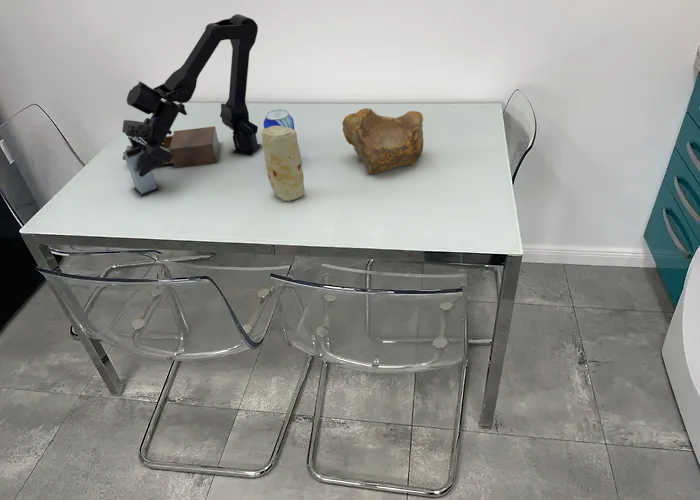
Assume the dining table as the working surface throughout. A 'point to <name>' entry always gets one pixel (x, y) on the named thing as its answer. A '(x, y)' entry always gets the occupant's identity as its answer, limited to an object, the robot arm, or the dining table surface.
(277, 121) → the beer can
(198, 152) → the cabinet
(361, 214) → the dining table surface
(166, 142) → the drawer
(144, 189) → the grey box with handle
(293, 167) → the food model
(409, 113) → the rough brown rock
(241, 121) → the robot arm
